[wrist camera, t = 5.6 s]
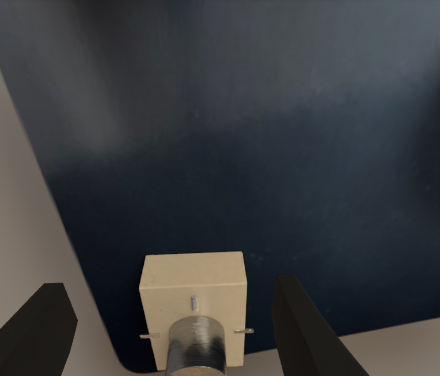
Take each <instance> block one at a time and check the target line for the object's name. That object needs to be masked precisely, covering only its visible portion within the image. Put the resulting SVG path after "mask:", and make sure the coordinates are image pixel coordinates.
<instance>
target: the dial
mask: <svg viewBox="0 0 440 376" xmlns="http://www.w3.org/2000/svg"><path fill="white" fill-rule="evenodd" d="M165 376H227V362H226V346H225V331H224V328H223V326H222V325H221V323H219V322H218V321H217V320H215V319H212V318H209V317H205V316H191V317H186V318H183V319H181V320H179V321H177V322H176V323H175V324H174V325H173V326H172V327H171V329H170V333H169V343H168V353H167V363H166V374H165Z"/></svg>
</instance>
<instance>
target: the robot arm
mask: <svg viewBox="0 0 440 376" xmlns="http://www.w3.org/2000/svg"><path fill="white" fill-rule="evenodd" d="M271 315H272V322H273V329H274V335H275V341H276V346H277V350H278V353H279V358H280V361H281V365H282V369H283V373H284V376H369V374H368V373H367V372H366V371H365V370H364V369H363V368H362V366H361V365H360V364H359V363H358V362H357V361H356V359H355V358H354V357H353V355H352V354H351V353H350V352H349V351H348V349H347V348H346V347H345V346H344V344H343V343H342V342H341V340H340V339H339V338H338V337H337V335H336V334H335V333H334V331H333V330H332V328H331V327H330V326H329V324H328V323H327V322H326V320H325V319H324V318H323V316H322V315H321V313H320V312H319V311H318V309H317V308H316V306H315V305H314V303H313V302H312V300H311V299H310V297H309V296H308V294H307V293H306V291H305V290H304V288H303V286H302V285H301V283H300V281H299V280H298V278H297V277H296V276H295V275H294V274H287V275H276V281H275V288H274V295H273V302H272V310H271ZM77 322H78V320H77V317H76V315H75V312H74V310H73V307H72V305H71V302H70V300H69V297H68V295H67V292H66V290H65V287H64V285H63V283H44V284H43V285H42V286H41V287H40V288H39V290H37V291H36V292H35V293H34V294H33V296H31V298H30V299H29V300H28V301H27V302H26V303H25V304H24V305H23V306H22V307H21V308H20V309H19V310H18V311H17V312H16V313H15V314H14V315H13V316H12V317H11V318H10V320H9V321H7V322H6V324H5V325H4V326H3V327H2V328H1V329H0V376H61V374H62V372H63V369H64V366H65V364H66V361H67V358H68V356H69V353H70V350H71V346H72V342H73V339H74V335H75V331H76V326H77Z"/></svg>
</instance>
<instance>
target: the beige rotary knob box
mask: <svg viewBox="0 0 440 376" xmlns="http://www.w3.org/2000/svg"><path fill="white" fill-rule="evenodd" d="M139 291H140V295H141V300H142V304H143V308H144V313H145V317H146V322H147V326H148V330H149V333H144V334H140V337H141V338H150V339H151V343H152V348H153V352H154V356H155V361H156V365H157V370H166V363H167V353H168V343H169V333H170V329H171V327H172V326H173V325H174V324H175V323H176V322H177V321H179V320H181V319H183V318H186V317H191V316H205V317H209V318H212V319H215V320H217V321H218V322H219V323H221V325H222V326H223V328H224V331H225V346H226V362H227V366H242V365H243V354H244V334H245V333H253V328H245V314H246V293H247V280H246V273H245V267H244V260H243V254H242V252H241V251H239V252H216V253H193V254H169V255H147V256H146V258H145V262H144V267H143V272H142V276H141V281H140V286H139Z"/></svg>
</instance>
